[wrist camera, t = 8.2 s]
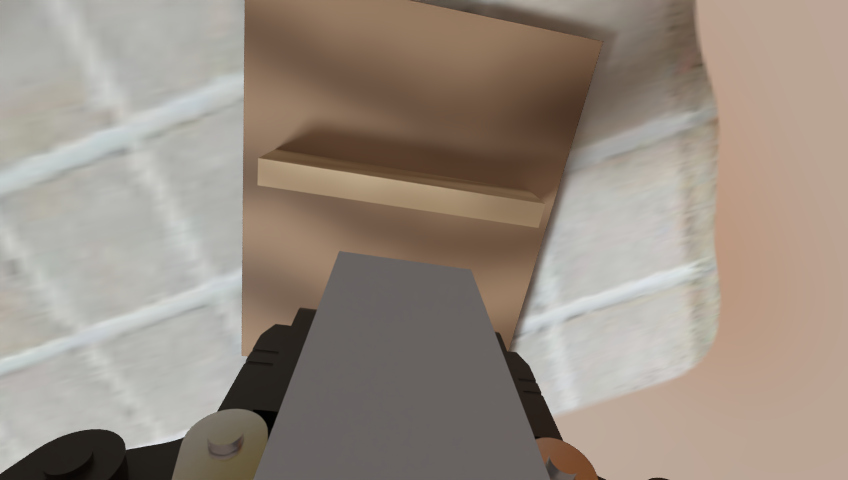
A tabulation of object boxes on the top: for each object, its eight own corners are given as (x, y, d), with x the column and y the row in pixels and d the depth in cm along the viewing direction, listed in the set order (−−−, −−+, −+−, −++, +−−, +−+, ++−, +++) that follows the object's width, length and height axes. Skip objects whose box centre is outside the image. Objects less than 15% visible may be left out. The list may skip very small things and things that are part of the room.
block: (339, 251, 12) (166, 708, 3) (471, 269, 12) (639, 713, 4) (327, 361, 13) (185, 885, 4) (445, 373, 13) (521, 873, 5)
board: (255, -28, 17) (219, -55, 14) (591, 43, 19) (632, 35, 16) (248, 343, 25) (224, 385, 21) (494, 369, 26) (508, 412, 23)
